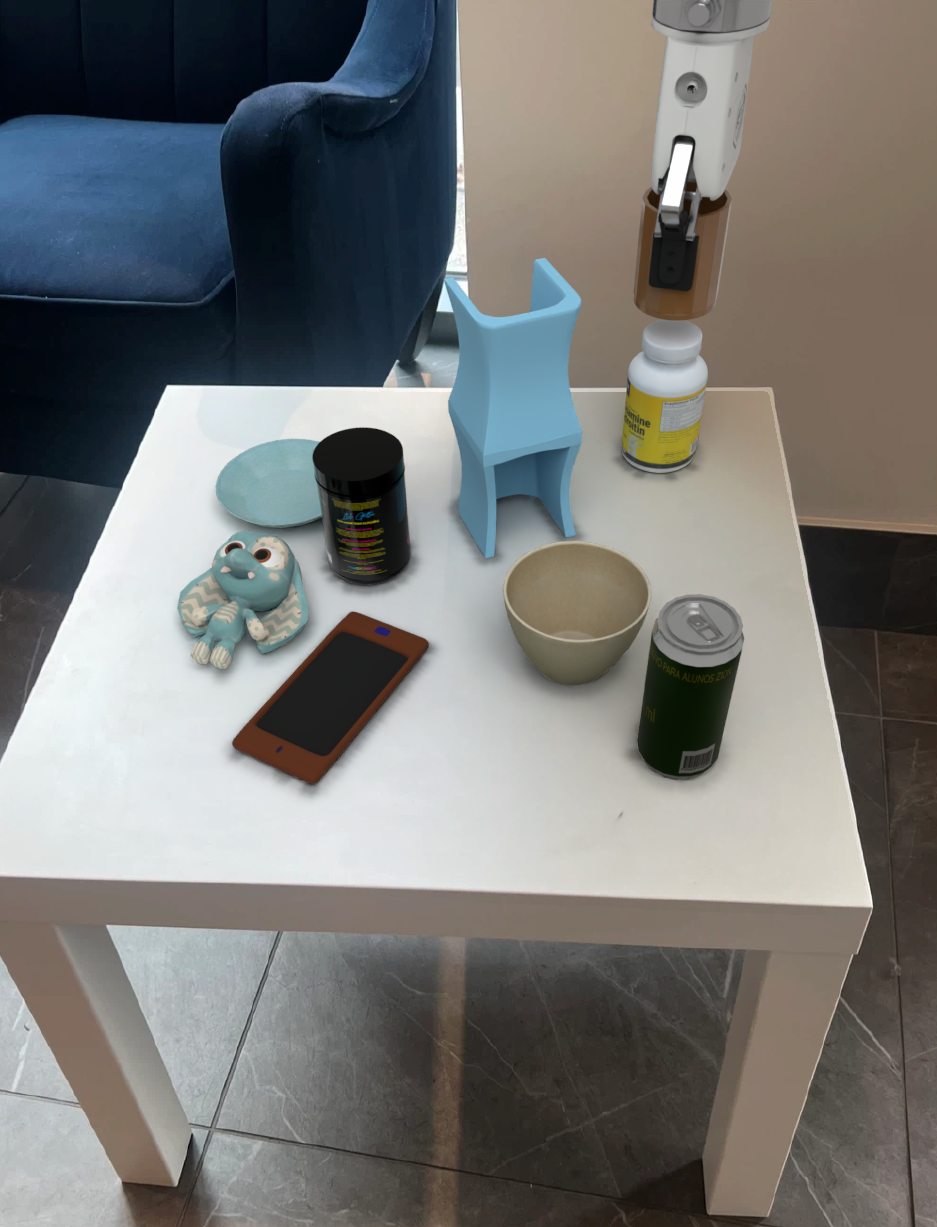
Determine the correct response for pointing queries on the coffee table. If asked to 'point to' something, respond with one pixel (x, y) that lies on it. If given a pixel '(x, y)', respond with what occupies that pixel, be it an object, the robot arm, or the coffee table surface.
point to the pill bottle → (664, 398)
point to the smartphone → (330, 697)
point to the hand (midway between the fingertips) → (680, 263)
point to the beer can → (689, 685)
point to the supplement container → (363, 504)
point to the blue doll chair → (515, 404)
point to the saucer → (272, 484)
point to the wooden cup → (707, 261)
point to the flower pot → (575, 608)
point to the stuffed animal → (244, 598)
